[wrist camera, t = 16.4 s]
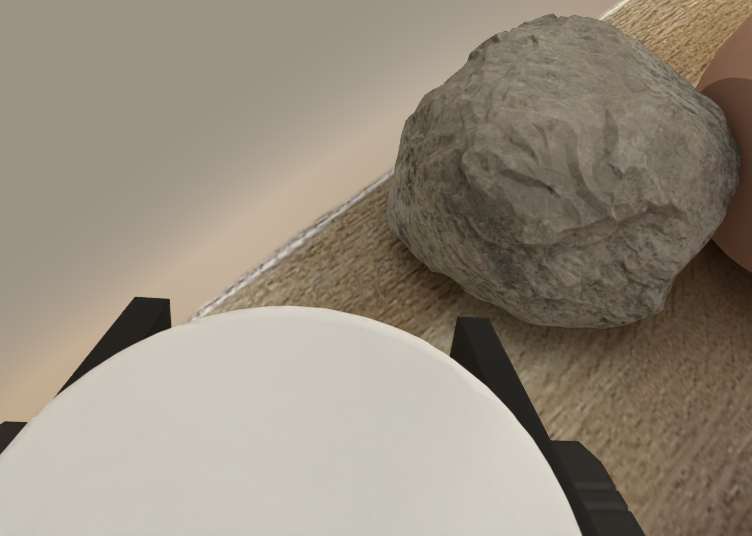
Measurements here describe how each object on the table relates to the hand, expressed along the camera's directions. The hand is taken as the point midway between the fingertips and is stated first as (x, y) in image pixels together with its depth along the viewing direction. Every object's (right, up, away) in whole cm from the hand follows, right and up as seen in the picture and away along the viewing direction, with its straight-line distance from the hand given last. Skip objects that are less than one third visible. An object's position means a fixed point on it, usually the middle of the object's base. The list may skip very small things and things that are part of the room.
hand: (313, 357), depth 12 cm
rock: (+11, +7, +8) cm, 15 cm away
